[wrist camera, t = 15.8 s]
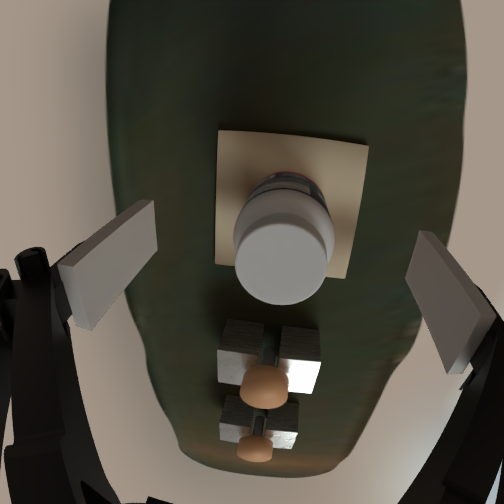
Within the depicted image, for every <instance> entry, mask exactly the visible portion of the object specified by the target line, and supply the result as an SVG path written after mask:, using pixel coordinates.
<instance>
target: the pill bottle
mask: <svg viewBox="0 0 504 504" xmlns="http://www.w3.org/2000/svg"><path fill="white" fill-rule="evenodd" d="M233 242H234V248H235V252H236V255H235V270H236V274H237V277H238V279H239V281H240V283H241V284H242V286H243V287H244V288H245V289H246V290H247V291H248V292H249V293H250V294H251V295H252V296H254V297H255V298H257V299H259V300H261V301H263V302H266V303H270V304H275V305H290V304H295V303H298V302H300V301H303V300H305V299H307V298H308V297H310V296H311V295H313V294H314V293H315V292H316V291H317V290H318V289H319V287H320V286H321V284H322V283H323V281H324V278H325V276H326V273H327V265H328V263H329V261H330V259H331V257H332V254H333V250H334V244H335V235H334V227H333V224H332V220H331V217H330V214H329V211H328V208H327V204H326V201H325V198H324V195H323V193H322V191H321V189H320V188H319V186H318V185H317V184H316V183H315V182H314V181H313V180H312V179H311V178H309V177H308V176H306V175H304V174H302V173H299V172H295V171H277V172H274V173H271V174H269V175H267V176H266V177H264V178H263V179H261V180H260V181H259V182H258V183H257V185H256V186H255V187H254V189H253V190H252V192H251V194H250V195H249V197H248V199H247V201H246V203H245V204H244V206H243V208H242V210H241V211H240V213H239V215H238V218H237V220H236V223H235V227H234V232H233Z"/></svg>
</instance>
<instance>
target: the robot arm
mask: <svg viewBox="0 0 504 504" xmlns="http://www.w3.org/2000/svg"><path fill="white" fill-rule="evenodd" d="M156 251H157V240H156V228H155V215H154V200H139V201H138V202H136V203H135V204H133V205H132V206H130V207H129V208H128V209H126V210H125V211H124V212H122V213H121V214H119V215H118V216H117V217H115V218H114V219H113V220H111V221H110V222H109V223H107V224H106V225H105V226H103V227H102V228H101V229H100V230H98V231H97V232H96V233H94V234H93V235H92V236H91V237H89V238H88V239H87V240H85V241H83V242H81V243H79V244H78V245H76V246H75V247H74V248H73V249H72V250H71V251H69V252H68V253H66V255H64V256H63V257H62V258H60V259H59V260H58V261H57V262H56V263H54V264H53V265H52V266H51V267H50V266H49V262H48V259H47V255H46V251H45V249H44V248H42V247H33V248H29V249H26V250H24V251H22V252H20V253H19V254H18V255H17V256H16V257H15V259H14V260H15V263H16V267H17V270H18V273H19V276H20V279H21V280H11V277H10V274H9V271H8V270H7V269H0V467H1V456H2V446H3V438H4V431H5V424H6V418H7V413H8V408H9V402H10V398H11V400H12V420H13V432H14V443H13V445H9V446H6V448H5V450H4V463H5V470H6V476H7V482H8V488H9V493H10V498H11V503H12V504H121V503H120V501H119V499H118V497H117V495H116V493H115V491H114V490H113V488H112V487H111V485H110V484H109V482H108V480H107V478H106V476H105V473H104V470H103V468H102V465H101V462H100V459H99V456H98V453H97V450H96V447H95V444H94V440H93V437H92V434H91V430H90V427H89V423H88V420H87V416H86V412H85V408H84V404H83V400H82V396H81V391H80V386H79V381H78V376H77V371H76V366H75V361H74V354H73V348H72V341H71V334H70V327H69V324H68V322H67V320H68V318H69V317H70V316H71V315H73V318H74V320H75V323H76V326H78V327H81V328H84V329H87V330H91V331H92V330H93V328H94V327H95V326H96V324H97V323H98V322H99V321H100V319H101V318H102V317H103V315H104V314H105V313H106V312H107V310H108V309H109V308H110V306H111V305H112V304H113V303H114V301H115V300H116V299H117V298H118V296H119V295H120V294H121V293H122V292H123V290H124V289H125V288H126V287H127V285H128V284H129V283H130V282H131V281H132V279H133V278H134V277H135V276H136V274H137V273H138V272H139V271H140V270H141V268H142V267H143V266H144V265H145V264H146V263H147V261H148V260H149V259H150V258H151V257H152V256H153V254H154V253H155V252H156ZM405 280H406V282H407V284H408V286H409V288H410V290H411V292H412V294H413V296H414V298H415V300H416V302H417V304H418V306H419V309H420V311H421V313H422V315H423V317H424V320H425V322H426V324H427V326H428V329H429V331H430V333H431V336H432V338H433V340H434V343H435V345H436V348H437V350H438V352H439V355H440V357H441V360H442V362H443V365H444V368H445V371H446V373H447V374H461V373H463V371H464V370H465V368H466V367H467V366H468V364H469V362H470V363H471V365H472V367H473V370H472V372H471V373H470V375H469V376H468V377H467V379H466V380H465V382H464V383H463V384H462V386H461V388H460V390H462V389H463V390H462V393H461V395H460V397H459V400H458V402H457V404H456V406H455V409H454V411H453V413H452V415H451V417H450V419H449V421H448V423H447V425H446V427H445V429H444V431H443V433H442V434H441V436H440V438H439V440H438V442H437V443H436V445H435V447H434V449H433V450H432V452H431V454H430V456H429V457H428V459H427V461H426V463H425V464H424V465H423V467H422V469H421V470H420V472H419V473H418V475H417V477H416V478H415V479H414V481H413V483H412V484H411V485H410V487H409V489H408V490H407V491H406V493H405V494H404V495H403V497H402V498H401V500H400V501H399V502H398V504H485V503H486V500H487V498H488V495H489V493H490V491H491V489H492V486H493V484H494V481H495V479H496V476H497V473H498V471H499V468H500V465H501V462H502V468H501V475H500V481H499V487H498V493H497V498H496V503H495V504H504V321H503V320H502V319H501V317H500V315H499V314H498V313H497V311H496V310H495V308H494V307H493V305H492V304H491V302H490V301H489V300H488V298H486V295H485V294H484V293H483V291H482V290H481V289H480V288H479V287H478V286H476V285H475V284H474V283H473V282H472V280H471V279H470V278H469V276H468V275H467V274H466V272H465V271H464V270H463V269H462V267H461V266H460V265H459V264H458V262H457V261H456V260H455V259H454V257H453V256H452V255H451V254H450V253H449V251H448V250H447V249H446V248H445V246H444V245H443V244H442V243H441V242H440V241H439V239H438V238H437V237H436V236H435V235H434V234H433V232H427V231H421V230H419V234H418V238H417V241H416V245H415V248H414V252H413V255H412V258H411V261H410V265H409V268H408V271H407V274H406V277H405ZM502 459H503V460H502ZM126 504H173V503H169V502H165V501H162V500H158V499H155V498H152V497H149V496H148V498H147V501H146V503H126Z"/></svg>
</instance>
